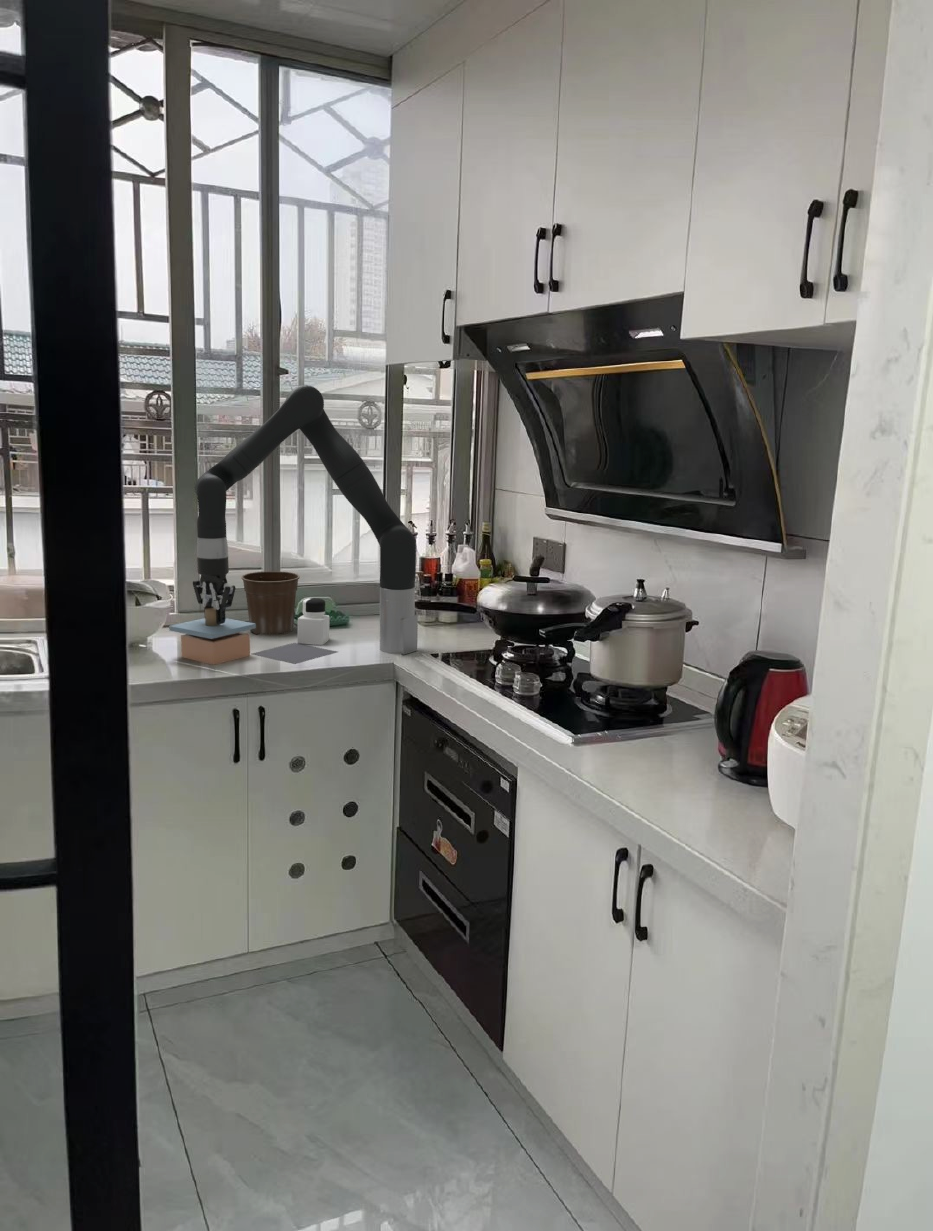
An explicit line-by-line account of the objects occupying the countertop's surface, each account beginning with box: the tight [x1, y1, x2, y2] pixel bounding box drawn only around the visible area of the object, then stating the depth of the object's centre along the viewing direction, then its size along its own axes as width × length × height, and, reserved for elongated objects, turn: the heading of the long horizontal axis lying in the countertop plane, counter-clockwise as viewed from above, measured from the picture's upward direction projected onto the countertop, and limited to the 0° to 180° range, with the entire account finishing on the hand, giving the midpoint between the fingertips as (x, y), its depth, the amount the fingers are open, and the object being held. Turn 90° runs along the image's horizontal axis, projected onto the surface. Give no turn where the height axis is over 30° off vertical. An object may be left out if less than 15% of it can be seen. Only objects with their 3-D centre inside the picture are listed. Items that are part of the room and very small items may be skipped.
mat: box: [251, 642, 338, 665], centre depth 252 cm, size 16×16×1 cm
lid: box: [168, 607, 256, 639], centre depth 245 cm, size 15×15×5 cm
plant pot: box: [241, 570, 301, 636], centre depth 276 cm, size 16×16×16 cm
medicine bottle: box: [296, 597, 331, 646], centre depth 264 cm, size 7×7×12 cm
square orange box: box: [180, 631, 251, 666], centre depth 247 cm, size 12×12×6 cm
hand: (215, 622), depth 245 cm, fingers closed on lid, 3 cm apart
